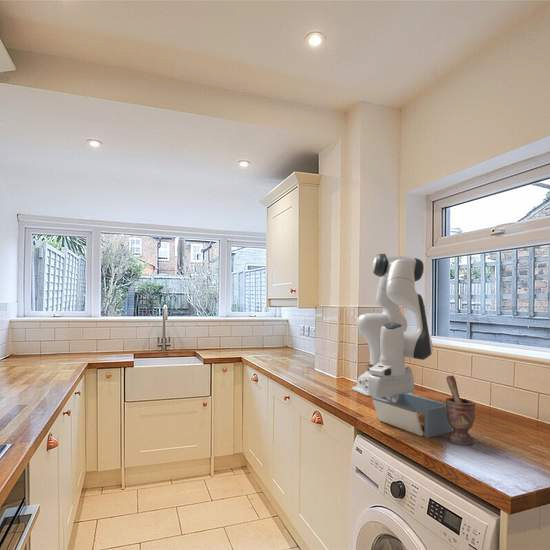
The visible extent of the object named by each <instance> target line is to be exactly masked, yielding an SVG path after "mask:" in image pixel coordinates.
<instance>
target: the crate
mask: <svg viewBox="0 0 550 550" xmlns="http://www.w3.org/2000/svg"><path fill="white" fill-rule="evenodd" d="M380 398H382V399H385V400H387V398H386V397H380ZM397 403H398V404H401V405H404V406H408V407H411V408H414V409H416V411H417V414H418V413H419V412H420V413H423V414H425V429H424V437H425V438H427V439H428V438H431V437H436V436H441V435H444V434H448V433H449V434H450V433H452V432H453V428H452V427H451V425H450V424H449V423H448V419H447V414H446V402H441V401H437V400H433V399H430V398H427V397H426V398H425V397H423V396H419V395H416V394H415V395H414V394H413V393H412V394H408V393H405V394H399V398H398V400H397ZM377 420H378V421H380V420H379V419H378V418H377Z"/></svg>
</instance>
